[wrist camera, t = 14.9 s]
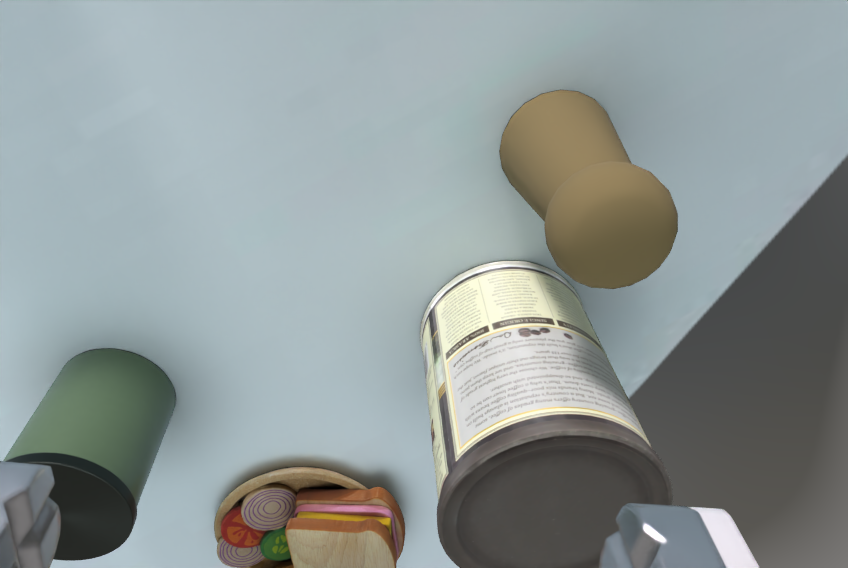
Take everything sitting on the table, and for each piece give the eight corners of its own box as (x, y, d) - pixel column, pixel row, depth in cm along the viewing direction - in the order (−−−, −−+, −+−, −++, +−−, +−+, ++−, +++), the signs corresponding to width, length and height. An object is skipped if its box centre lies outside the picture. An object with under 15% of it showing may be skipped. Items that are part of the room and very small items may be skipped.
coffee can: (612, 347, 42) (706, 536, 30) (471, 417, 44) (507, 618, 32) (540, 226, 37) (618, 393, 25) (386, 312, 39) (390, 502, 27)
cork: (500, 93, 33) (549, 177, 24) (620, 86, 33) (716, 167, 24) (498, 204, 36) (541, 317, 27) (607, 197, 36) (688, 307, 27)
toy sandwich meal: (210, 455, 45) (194, 513, 41) (410, 459, 46) (413, 515, 42) (223, 572, 51) (210, 631, 47) (397, 572, 52) (399, 629, 48)
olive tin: (48, 339, 39) (-35, 456, 31) (178, 352, 40) (129, 469, 32) (61, 430, 43) (-11, 556, 35) (179, 440, 44) (136, 564, 36)
